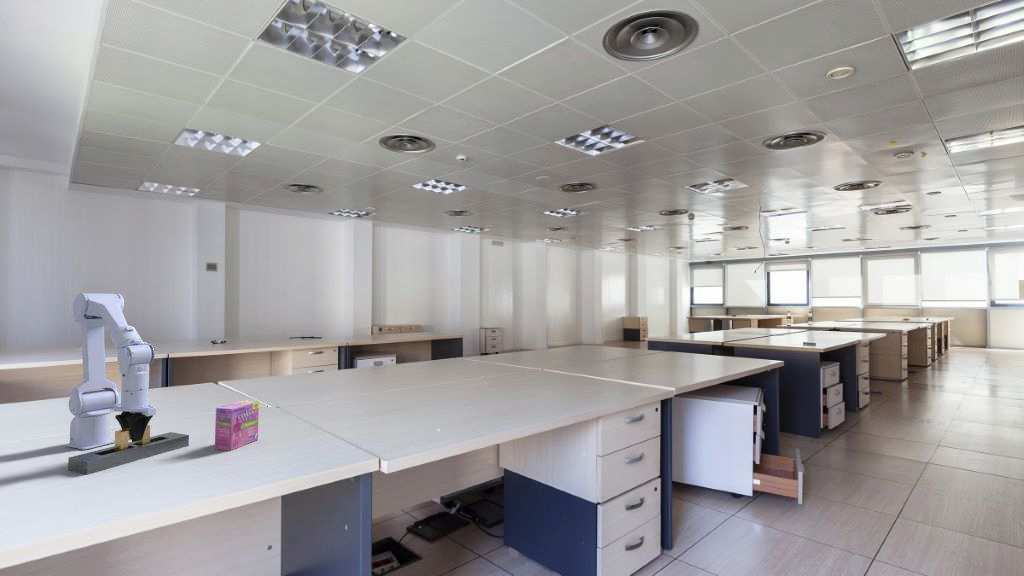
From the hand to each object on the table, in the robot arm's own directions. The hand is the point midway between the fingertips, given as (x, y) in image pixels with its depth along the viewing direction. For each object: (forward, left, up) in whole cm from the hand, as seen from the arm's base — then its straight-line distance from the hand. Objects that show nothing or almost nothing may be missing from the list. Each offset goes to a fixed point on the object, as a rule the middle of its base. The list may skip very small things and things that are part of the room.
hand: (133, 440), depth 123 cm
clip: (0, 0, -3) cm, 3 cm away
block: (0, 0, -4) cm, 4 cm away
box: (+16, +18, -5) cm, 25 cm away
